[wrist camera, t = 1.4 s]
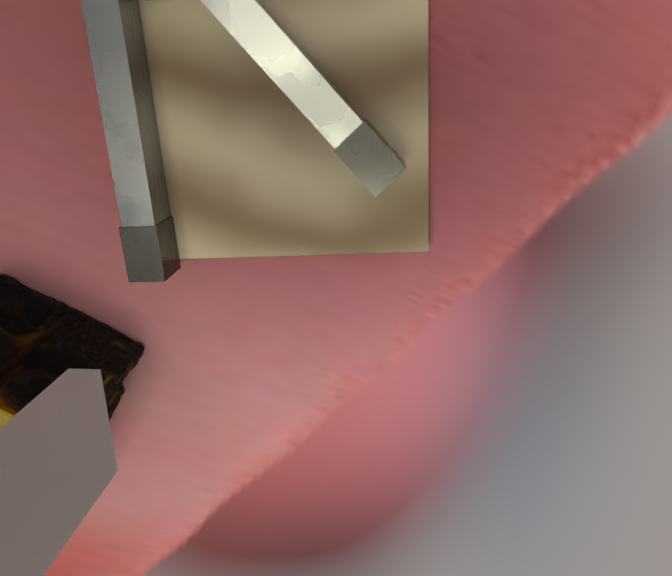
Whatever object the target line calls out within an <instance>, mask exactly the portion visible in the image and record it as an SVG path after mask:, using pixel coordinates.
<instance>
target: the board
mask: <svg viewBox="0 0 672 576" xmlns="http://www.w3.org/2000/svg"><path fill="white" fill-rule="evenodd" d="M138 1H139V7H140V14H141V21H142V27H143V34H144V40H145V47H146V53H147V60H148V66H149V73H150V80H151V86H152V93H153V99H154V106H155V112H156V119H157V125H158V132H159V139H160V145H161V152H162V158H163V165H164V171H165V178H166V184H167V191H168V198H169V204H170V211H171V216H173V219H174V225H175V232H176V239H177V245H178V252H179V258H180V259H195V258H228V257H262V256H295V255H329V254H362V253H396V252H429V160H428V0H260V1H261V2H262V3H263V5H264V6H265V7H266V8H267V9H268V10H269V11H270V13H271V14H272V15H273V16H274V17H275V18H276V19H277V21H278V22H279V23H280V24H281V25H282V26H283V27H284V28H285V30H286V31H287V32H288V33H289V34H290V35H291V36H292V38H293V39H294V40H295V41H296V42H297V43H298V44H299V45H300V47H301V48H302V49H303V50H304V51H305V52H306V53H307V55H308V56H309V57H310V58H311V59H312V60H313V61H314V63H315V64H316V65H317V66H318V67H319V68H320V69H321V70H322V72H323V73H324V74H325V75H326V76H327V77H328V78H329V80H330V81H331V82H332V83H333V84H334V85H335V86H336V87H337V89H338V90H339V91H340V92H341V93H342V94H343V95H344V97H345V98H346V99H347V100H348V101H349V102H350V103H351V105H352V106H353V107H354V108H355V109H356V110H357V111H358V112H359V114H360V115H361V116H362V117H363V118H364V119H367V120H368V121H369V122H370V123H371V124H372V125H373V126H374V128H375V129H376V130H377V131H378V132H379V133H380V134H381V136H382V137H383V138H384V139H385V140H386V141H387V142H388V144H389V145H390V146H391V147H392V148H393V149H394V150H395V151H396V153H397V154H398V155H399V156H400V157H401V158H402V159H403V161H404V162H405V164H406V168H407V169H406V170H405V171H404V172H403V173H402V174H400V175H399V176H398V177H397V178H396V179H395V180H394V181H393V182H392V183H390V184H389V185H388V186H387V187H386V188H385V189H384V190H383V191H381V192H380V193H379V194H378V195H377V196H376V197H375V196H374V195H373V194H372V193H371V192H370V191H369V190H368V189H367V187H366V186H365V185H364V184H363V183H362V182H361V181H360V180H359V179H358V178H357V176H356V175H355V174H354V173H353V172H352V171H351V170H350V169H349V168H348V166H347V165H346V164H345V163H344V162H343V161H342V160H341V159H340V158H339V157H338V155H337V154H336V153H335V152H334V151H333V150H334V148H333V146H332V145H331V144H330V143H329V142H328V141H327V140H326V139H325V138H324V136H323V135H322V134H321V133H320V132H319V131H318V130H317V129H316V128H315V127H314V125H313V124H312V123H311V122H310V121H309V120H308V119H307V118H306V117H305V115H304V114H303V113H302V112H301V111H300V110H299V109H298V108H297V107H296V106H295V104H294V103H293V102H292V101H291V100H290V99H289V98H288V97H287V96H286V94H285V93H284V92H283V91H282V90H281V89H280V88H279V87H278V86H277V85H276V83H275V82H274V81H273V80H272V79H271V78H270V77H269V76H268V75H267V74H266V72H265V71H264V70H263V69H262V68H261V67H260V66H259V65H258V64H257V62H256V61H255V60H254V59H253V58H252V57H251V56H250V55H249V54H248V53H247V51H246V50H245V49H244V48H243V47H242V46H241V45H240V44H239V43H238V41H237V40H236V39H235V38H234V37H233V36H232V35H231V34H230V33H229V32H228V30H227V29H226V28H225V27H224V26H223V25H222V24H221V23H220V22H219V21H218V19H217V18H216V17H215V16H214V15H213V14H212V13H211V12H210V11H209V9H208V8H207V7H206V6H205V5H204V4H203V3H202V2H201V1H200V0H138Z"/></svg>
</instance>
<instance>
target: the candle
mask: <svg viewBox="0 0 672 576" xmlns="http://www.w3.org/2000/svg"><path fill="white" fill-rule="evenodd" d="M143 350H144V348H143V346H142V345H141V344H140V343H135V342H131V340H130V339H128V338H127V337H125V336H124V335H122V334H118V333H115V332H114V331H113V330H112V329H111V328H109V327H108V326H107V325H104V324H102V323H99V322H96V321H95V320H93V319H91V318H90V317H88V316H86V315H85V314H83V313H81V312H78V311H76V310H73V309H70V308H68V307H67V306H66V305H65V304H62V303H59V302H57V301H55V300H54V299H52V298H51V297H46V296H44V295H42V294H40V293H38V292H36V291H33V290H31V289H29V288H27V287H25V286H24V285H22V284H20V283H19V282H18V281H17V280H15V279H14V278H13V277H7V276H3V275H0V428H1V427H2V426H3V425H4V424H6V423H7V422H8V421H9V420H10V419H11V418H12V417H14V416H15V415H16V414H17V413H18V412H19V411H21V410H22V409H23V408H24V407H25V406H26V405H27V404H29V403H30V402H31V401H32V400H33V399H34V398H35V397H37V396H38V395H39V394H40V393H41V392H42V391H43V390H45V389H46V388H47V387H48V386H49V385H50V384H51V383H53V382H54V381H55V380H56V379H57V378H58V377H60V376H61V375H62V374H63V373H64V372H65V371H66V370H68V369H100V370H101V375H102V381H103V387H104V393H105V399H106V405H107V411H108V417H109V421H110V418H111V416H112V413H113V411H114V409H115V408H116V407H117V405H118V403H119V401H120V396H121V395H123V394H124V392H123V388H122V386H121V384H122V380H123V379H124V378H125V377H126V375H127V374H128V373H129V372H130V371H131V370H132V369H133V368H134V367H135V366H136V365H137V363H138V359H139V358H140V357H141V356H142V351H143Z"/></svg>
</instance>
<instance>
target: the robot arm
mask: <svg viewBox="0 0 672 576" xmlns="http://www.w3.org/2000/svg"><path fill="white" fill-rule="evenodd" d="M117 471H118V469H117V464H116V458H115V452H114V446H113V440H112V434H111V428H110V422H109V417H108V411H107V405H106V399H105V393H104V387H103V381H102V375H101V370H100V369H68V370H66V371H65V372H64V373H63V374H62V375H61V376H60V377H58V378H57V379H56V380H55V381H54V382H53V383H51V384H50V385H49V386H48V387H47V388H46V389H45V390H43V391H42V392H41V393H40V394H39V395H38V396H37V397H35V398H34V399H33V400H32V401H31V402H30V403H29V404H27V405H26V406H25V407H24V408H23V409H22V410H21V411H19V412H18V413H17V414H16V415H15V416H14V417H12V418H11V419H10V420H9V421H8V422H7V423H6V424H4V425H3V426H2V427H1V428H0V576H43V574H44V573H45V572H46V570H47V569H48V567H49V566H50V565H51V563H52V562H53V560H54V559H55V558H56V556H57V555H58V553H59V552H60V551H61V549H62V548H63V546H64V545H65V544H66V542H67V541H68V539H69V538H70V537H71V535H72V534H73V532H74V531H75V530H76V528H77V527H78V525H79V524H80V523H81V521H82V520H83V518H84V517H85V515H86V514H87V513H88V511H89V510H90V508H91V507H92V506H93V504H94V503H95V501H96V500H97V499H98V497H99V496H100V494H101V493H102V492H103V490H104V489H105V487H106V486H107V485H108V483H109V482H110V480H111V479H112V478H113V476H114V475H115V473H116V472H117Z"/></svg>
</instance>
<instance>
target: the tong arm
mask: <svg viewBox="0 0 672 576" xmlns="http://www.w3.org/2000/svg"><path fill="white" fill-rule="evenodd" d="M200 1H201V2H202V3H203V4H204V5H205V6H206V7H207V8H208V9H209V11H210V12H211V13H212V14H213V15H214V16H215V17H216V18H217V19H218V21H219V22H220V23H221V24H222V25H223V26H224V27H225V28H226V29H227V30H228V32H229V33H230V34H231V35H232V36H233V37H234V38H235V39H236V40H237V41H238V43H239V44H240V45H241V46H242V47H243V48H244V49H245V50H246V51H247V53H248V54H249V55H250V56H251V57H252V58H253V59H254V60H255V61H256V62H257V64H258V65H259V66H260V67H261V68H262V69H263V70H264V71H265V72H266V74H267V75H268V76H269V77H270V78H271V79H272V80H273V81H274V82H275V83H276V85H277V86H278V87H279V88H280V89H281V90H282V91H283V92H284V93H285V94H286V96H287V97H288V98H289V99H290V100H291V101H292V102H293V103H294V104H295V106H296V107H297V108H298V109H299V110H300V111H301V112H302V113H303V114H304V115H305V117H306V118H307V119H308V120H309V121H310V122H311V123H312V124H313V125H314V127H315V128H316V129H317V130H318V131H319V132H320V133H321V134H322V135H323V136H324V138H325V139H326V140H327V141H328V142H329V143H330V144H331V145H332V146H333V148H334V150H333V151H334V152H335V153H336V154H337V155H338V157H339V158H340V159H341V160H342V161H343V162H344V163H345V164H346V165H347V166H348V168H349V169H350V170H351V171H352V172H353V173H354V174H355V175H356V176H357V178H358V179H359V180H360V181H361V182H362V183H363V184H364V185H365V186H366V187H367V189H368V190H369V191H370V192H371V193H372V194H373V195H374V196H375V197H376V196H377V195H378V194H379V193H380V192H381V191H383V190H384V189H385V188H386V187H387V186H388V185H389V184H390V183H392V182H393V181H394V180H395V179H396V178H397V177H398V176H399V175H400V174H402V173H403V172H404V171H405V170H406V169H407V168H406V164H405V162H404V161H403V159H402V158H401V157H400V156H399V155H398V154H397V153H396V151H395V150H394V149H393V148H392V147H391V146H390V145H389V144H388V142H387V141H386V140H385V139H384V138H383V137H382V136H381V134H380V133H379V132H378V131H377V130H376V129H375V128H374V126H373V125H372V124H371V123H370V122H369V121H368V120H367V119H364V118H363V117H362V116H361V115H360V114H359V112H358V111H357V110H356V109H355V108H354V107H353V106H352V105H351V103H350V102H349V101H348V100H347V99H346V98H345V97H344V95H343V94H342V93H341V92H340V91H339V90H338V89H337V87H336V86H335V85H334V84H333V83H332V82H331V81H330V80H329V78H328V77H327V76H326V75H325V74H324V73H323V72H322V70H321V69H320V68H319V67H318V66H317V65H316V64H315V63H314V61H313V60H312V59H311V58H310V57H309V56H308V55H307V53H306V52H305V51H304V50H303V49H302V48H301V47H300V45H299V44H298V43H297V42H296V41H295V40H294V39H293V38H292V36H291V35H290V34H289V33H288V32H287V31H286V30H285V28H284V27H283V26H282V25H281V24H280V23H279V22H278V21H277V19H276V18H275V17H274V16H273V15H272V14H271V13H270V11H269V10H268V9H267V8H266V7H265V6H264V5H263V3H262V2H261V1H260V0H200Z"/></svg>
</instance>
